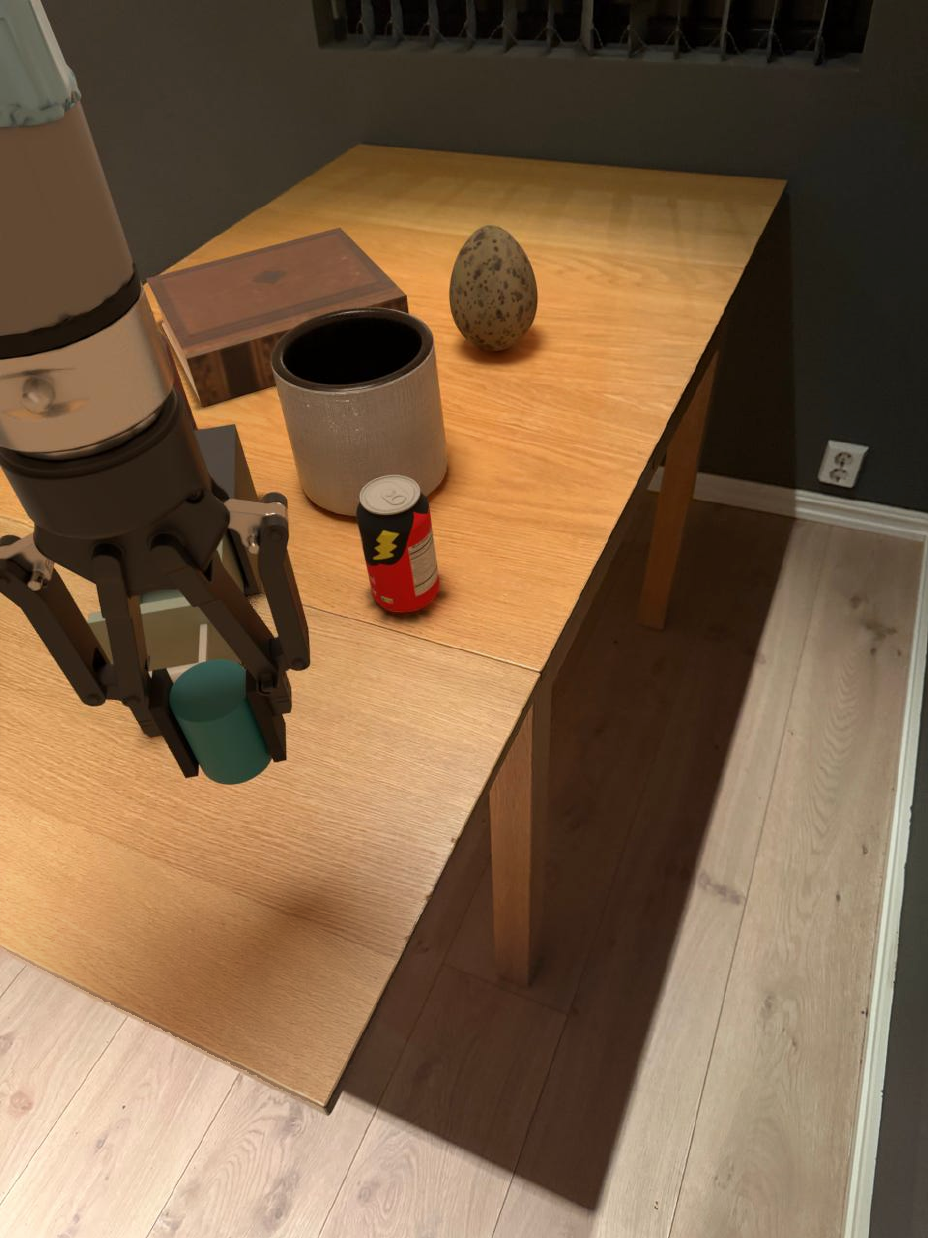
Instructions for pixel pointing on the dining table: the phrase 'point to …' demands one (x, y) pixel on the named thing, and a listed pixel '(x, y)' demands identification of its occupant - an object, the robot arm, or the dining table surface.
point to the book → (262, 306)
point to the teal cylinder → (220, 721)
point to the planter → (360, 403)
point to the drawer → (178, 624)
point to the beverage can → (398, 543)
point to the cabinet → (232, 485)
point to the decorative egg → (493, 290)
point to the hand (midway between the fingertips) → (236, 749)
